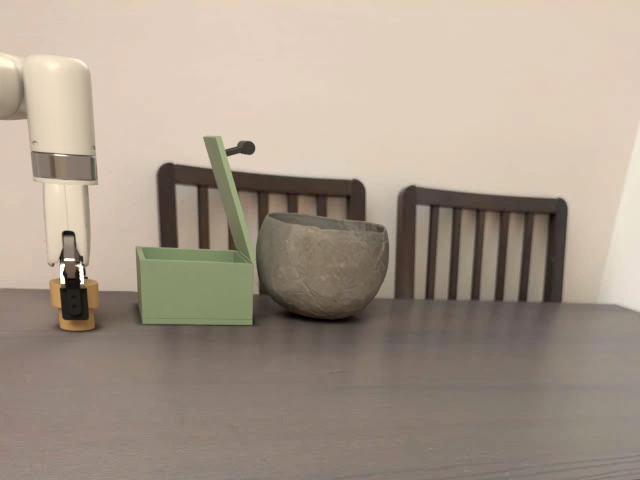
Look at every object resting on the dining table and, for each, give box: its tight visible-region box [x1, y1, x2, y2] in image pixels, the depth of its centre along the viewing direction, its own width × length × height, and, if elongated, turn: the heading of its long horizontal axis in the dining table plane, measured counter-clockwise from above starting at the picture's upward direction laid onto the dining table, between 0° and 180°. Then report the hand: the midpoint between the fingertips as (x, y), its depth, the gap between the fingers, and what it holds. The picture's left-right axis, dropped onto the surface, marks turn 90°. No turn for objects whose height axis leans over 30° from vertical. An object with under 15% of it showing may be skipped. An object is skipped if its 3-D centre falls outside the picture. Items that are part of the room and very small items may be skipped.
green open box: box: [135, 245, 255, 326], centre depth 109 cm, size 16×14×9 cm
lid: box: [202, 135, 256, 262], centre depth 106 cm, size 16×14×6 cm
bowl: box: [255, 211, 390, 320], centre depth 114 cm, size 20×20×15 cm
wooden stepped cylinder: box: [48, 277, 101, 332], centre depth 97 cm, size 6×6×6 cm
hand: (76, 311), depth 97 cm, fingers open, 7 cm apart
